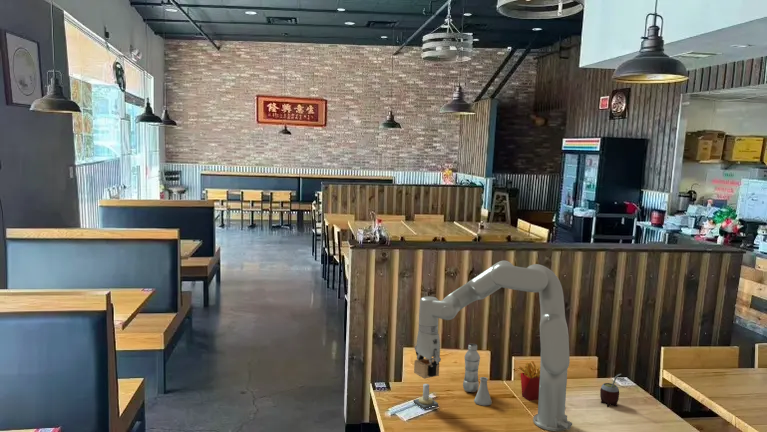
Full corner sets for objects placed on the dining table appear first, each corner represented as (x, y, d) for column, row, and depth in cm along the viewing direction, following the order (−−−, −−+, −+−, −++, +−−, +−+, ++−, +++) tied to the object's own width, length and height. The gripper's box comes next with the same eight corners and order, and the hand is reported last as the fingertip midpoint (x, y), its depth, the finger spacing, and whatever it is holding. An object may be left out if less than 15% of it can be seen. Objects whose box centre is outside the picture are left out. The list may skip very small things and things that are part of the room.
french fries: (542, 400, 216) (544, 364, 215) (525, 403, 213) (527, 367, 212) (528, 391, 224) (530, 357, 223) (512, 394, 221) (514, 359, 220)
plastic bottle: (459, 389, 225) (461, 343, 223) (472, 387, 228) (474, 341, 226) (468, 395, 219) (470, 348, 217) (481, 392, 222) (483, 346, 220)
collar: (438, 375, 207) (439, 363, 206) (424, 378, 203) (424, 366, 203) (428, 369, 213) (428, 357, 212) (414, 372, 209) (414, 360, 209)
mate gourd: (601, 399, 219) (603, 364, 218) (621, 404, 215) (624, 368, 214) (598, 405, 212) (600, 369, 211) (619, 410, 208) (621, 373, 207)
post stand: (438, 406, 207) (438, 386, 207) (423, 409, 204) (424, 389, 203) (427, 399, 213) (428, 380, 213) (413, 402, 210) (414, 383, 209)
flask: (492, 407, 208) (493, 382, 207) (473, 405, 210) (474, 380, 209) (491, 399, 215) (493, 376, 214) (474, 397, 217) (475, 374, 216)
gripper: (449, 333, 201) (447, 378, 202) (423, 321, 216) (421, 363, 217) (433, 335, 197) (431, 382, 198) (408, 323, 212) (406, 366, 213)
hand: (426, 372), depth 208 cm, fingers closed on collar, 7 cm apart
